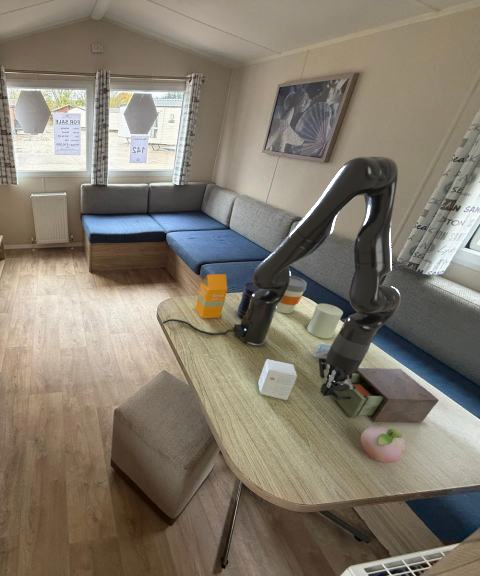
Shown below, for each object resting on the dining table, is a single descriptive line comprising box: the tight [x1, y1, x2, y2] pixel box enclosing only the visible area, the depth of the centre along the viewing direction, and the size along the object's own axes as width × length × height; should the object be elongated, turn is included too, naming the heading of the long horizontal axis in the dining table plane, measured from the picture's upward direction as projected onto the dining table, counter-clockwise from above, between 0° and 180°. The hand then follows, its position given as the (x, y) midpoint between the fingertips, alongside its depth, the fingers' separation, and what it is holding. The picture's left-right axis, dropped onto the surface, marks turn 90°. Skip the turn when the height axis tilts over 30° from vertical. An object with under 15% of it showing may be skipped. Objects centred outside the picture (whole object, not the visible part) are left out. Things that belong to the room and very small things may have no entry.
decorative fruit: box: [360, 425, 407, 464], centre depth 80 cm, size 9×8×10 cm
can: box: [306, 303, 344, 339], centre depth 129 cm, size 9×9×12 cm
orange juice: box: [195, 273, 228, 319], centre depth 138 cm, size 8×9×20 cm
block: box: [352, 384, 372, 398], centre depth 95 cm, size 4×4×4 cm
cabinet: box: [353, 367, 440, 424], centre depth 95 cm, size 15×13×10 cm
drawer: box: [331, 373, 385, 419], centre depth 95 cm, size 18×11×8 cm, turn 90°
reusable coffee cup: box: [275, 275, 308, 314], centre depth 145 cm, size 13×13×15 cm
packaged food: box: [312, 343, 332, 360], centre depth 114 cm, size 9×12×5 cm
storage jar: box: [236, 282, 260, 320], centre depth 137 cm, size 10×10×15 cm
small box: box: [257, 358, 298, 401], centre depth 99 cm, size 8×6×10 cm
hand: (324, 394), depth 95 cm, fingers closed
